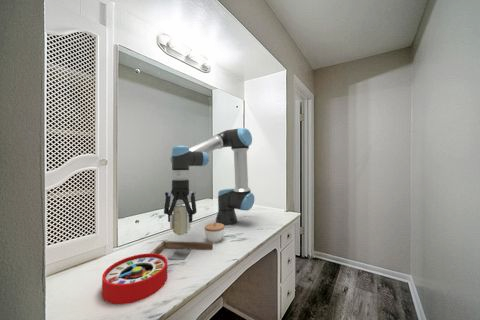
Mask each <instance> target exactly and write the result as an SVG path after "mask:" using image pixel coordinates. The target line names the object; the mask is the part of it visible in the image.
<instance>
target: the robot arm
mask: <svg viewBox="0 0 480 320" xmlns="http://www.w3.org/2000/svg"><path fill="white" fill-rule="evenodd" d="M252 144H253V136H252V133H251V132H250V130H249V128H245V127H240V128H239V127H238V128H234V129H226V130H224V131H221V132H219V133H218V134H215V135H213V136H212V137H211V138H210V139H207V140H205V141H203V142H202V141H201V142H199V143H198V144H196V145H195V144H194V145H193V146H190V147H189V146H188V145H174V146H172V150H171V155H170V159H169V160H170V163H171V179H172V180H171V190H170V191H166V192H165V193H164V194H165V195H164V196H165V203H164V208H163V214H164V215H167V216H168V217H167V223H169V231H173V208H174V206H177V202H178V201H182V202H183V204H184V206H186V209H187V212H188V216H187V231H190V229H191V223H192V222H193V215H196V213H197V203H196V193H197V192H196V191H190V186H189V185H190V180H189V178H190V167H205V166H207V165H208V163H210V160H209V159H210V156H209V153H212V152H213V151H215V150H221V149H223V148H230V149H231V150H232V152H233V161H234V165H233V166H234V186H235V187H234V188H226V189H220V190H219V191H218V194H217V201H218V203H217V205H218V206H217V207H218V208H217V210H218V211H217V214H216V217H215V223H221V224H224V226H229V225H230V226H231V225H234V224H236V223H238V217H237V214H236V210H240V211H250V210H251V209H252V208H253V206H254V203H255V195H254V193H252V191H251V188H250V187H249V176H248V175H249V174H248V155H247V154H248V153H247V152H248V150H249V149H250V146H251V145H252ZM171 196H172V197H173V199H172V198H171ZM188 196H189V197H190V201H189V198H188ZM171 199H172V200H171ZM171 201H172V202H171ZM190 203H191V204H190Z"/></svg>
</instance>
